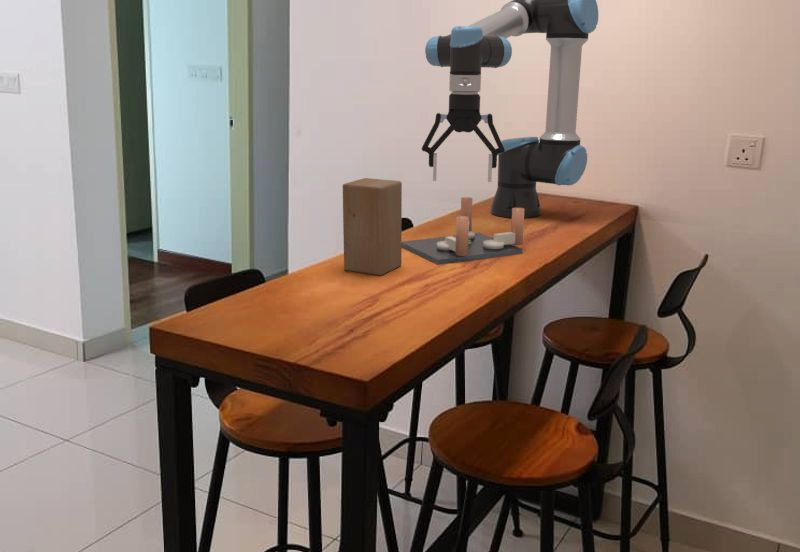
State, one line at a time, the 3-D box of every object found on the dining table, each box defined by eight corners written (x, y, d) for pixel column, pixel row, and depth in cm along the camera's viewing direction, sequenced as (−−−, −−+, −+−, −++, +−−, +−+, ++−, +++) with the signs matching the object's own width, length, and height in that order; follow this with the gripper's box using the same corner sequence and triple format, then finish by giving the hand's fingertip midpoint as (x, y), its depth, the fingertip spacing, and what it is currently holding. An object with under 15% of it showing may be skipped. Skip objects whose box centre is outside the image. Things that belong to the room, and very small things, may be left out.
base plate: (479, 236, 215) (479, 228, 214) (522, 253, 198) (522, 244, 197) (399, 246, 205) (399, 237, 204) (438, 264, 188) (438, 255, 187)
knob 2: (474, 239, 206) (475, 205, 203) (454, 239, 206) (455, 204, 204) (475, 230, 216) (476, 197, 214) (456, 229, 217) (457, 197, 214)
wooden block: (343, 270, 182) (341, 183, 177) (365, 260, 191) (364, 177, 185) (381, 276, 178) (381, 187, 172) (402, 265, 187) (402, 180, 181)
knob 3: (490, 249, 195) (491, 213, 193) (479, 245, 199) (480, 210, 197) (527, 245, 200) (529, 209, 197) (516, 241, 204) (517, 206, 202)
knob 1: (433, 246, 198) (433, 211, 196) (450, 244, 200) (451, 209, 198) (455, 256, 189) (456, 219, 186) (473, 254, 191) (474, 217, 188)
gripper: (412, 93, 190) (411, 181, 195) (517, 94, 188) (513, 184, 194) (413, 91, 197) (412, 177, 203) (515, 93, 195) (511, 179, 201)
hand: (462, 180), depth 198 cm, fingers open, 13 cm apart
